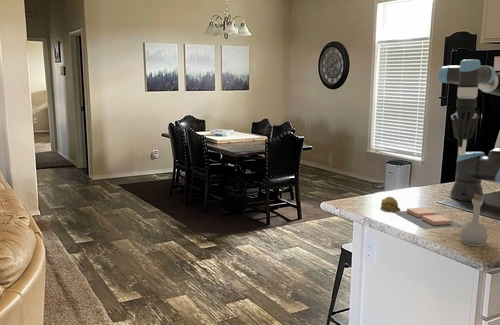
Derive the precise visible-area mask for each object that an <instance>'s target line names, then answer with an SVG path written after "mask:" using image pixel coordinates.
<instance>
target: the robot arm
mask: <svg viewBox="0 0 500 325" xmlns="http://www.w3.org/2000/svg"><path fill="white" fill-rule="evenodd" d="M437 77H438V80H439V82H440V83H441V84H442V83H443V84H453V85H454V84H455V85H458V86H457V94H456V96H457V98H456V103H455V104H456V105H455V107H456V110H455V112H454V113H453V114H450V115H449V118H450V119H451V125H452V132H453V137H454V138H456V139H457V143H456V144H457V147H458V148H457V158H456V167H455V179H454V180H455V181H454V182H453V183H454V184H453V186H452V188H451V190H450V192H449V198H451V199H453V200H456V199H458V200H457V201H461V200H463V201H462V202H468V201H472V199H474V194H477V195H480V196H482V200H483V201H484V199H485V195H484V194H485V193H484V191H483V187H482V181H486V182H492V183H497V184H500V130H499V132H498V135H497V138H496V141H495V145H494V148H493V149H491V150H490V151H489V152H488V155H486V154H485V152H483V151H466V149H467V147H468V142H469V140H471V138H473V137H474V134H475V130H476V127H477V124H478V120H479V119H480V118H481V115H480V114H477V113H476V108H477V101H478V99H477V97H478V93H479V91H478V90H480V91H481V92H483V93H486V94H491V95H495V96H499V97H500V72H496V70H495V68H494V67H493V66H490V65H487V64H486V65H481V61H480V60H479V59H462V60H461V61H460V63H459V65H446V66H445V65H444V66H442V67H441V68H439V71H438V76H437Z"/></svg>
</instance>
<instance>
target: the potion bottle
mask: <svg viewBox="0 0 500 325" xmlns="http://www.w3.org/2000/svg"><path fill="white" fill-rule="evenodd" d="M483 203H484V200H482V196H480V195H477V194H474V199H472V202H471V204H472V205H473V208H472V209H473V210H472V218H471V221H466V222H465V223H464V224H462V225H463V227H461V228H460V231H459V232H460V238H461V239H462V243H463V244H465V245H468V246H471V247H483V246H484V243H486V242H487V239H488V230H487V228H486V225H485V224H484V223H481V222H479V221H480V216H481V215H480V213H481V206H483Z"/></svg>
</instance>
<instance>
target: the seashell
mask: <svg viewBox="0 0 500 325" xmlns="http://www.w3.org/2000/svg"><path fill="white" fill-rule="evenodd" d="M380 203H381V204H380V209H381V210H383V211H384V212H385V211H386V212H391V213H393V212H397V211H401V208H400V207H399V204H398V200H396V199H395V198H394V197H391V196H387V197H385V198H382V200H381V202H380Z"/></svg>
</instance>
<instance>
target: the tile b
mask: <svg viewBox="0 0 500 325" xmlns="http://www.w3.org/2000/svg"><path fill="white" fill-rule="evenodd" d="M422 220H424V221H426V222H428V223H430V224H432V225H445V224H451V223H452V221H453V219H450V218H448V217H446V218H445V216H443V215H441V214H439V215H426V216H422Z"/></svg>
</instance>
